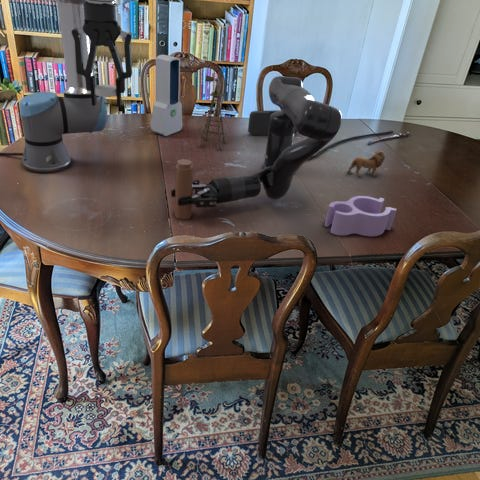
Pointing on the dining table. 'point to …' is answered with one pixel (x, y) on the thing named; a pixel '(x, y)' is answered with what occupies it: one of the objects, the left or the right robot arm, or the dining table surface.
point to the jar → (183, 187)
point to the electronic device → (167, 97)
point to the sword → (386, 138)
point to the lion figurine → (368, 163)
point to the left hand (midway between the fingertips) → (106, 104)
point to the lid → (105, 90)
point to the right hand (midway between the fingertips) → (175, 197)
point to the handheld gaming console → (260, 122)
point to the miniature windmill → (215, 95)
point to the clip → (359, 216)
